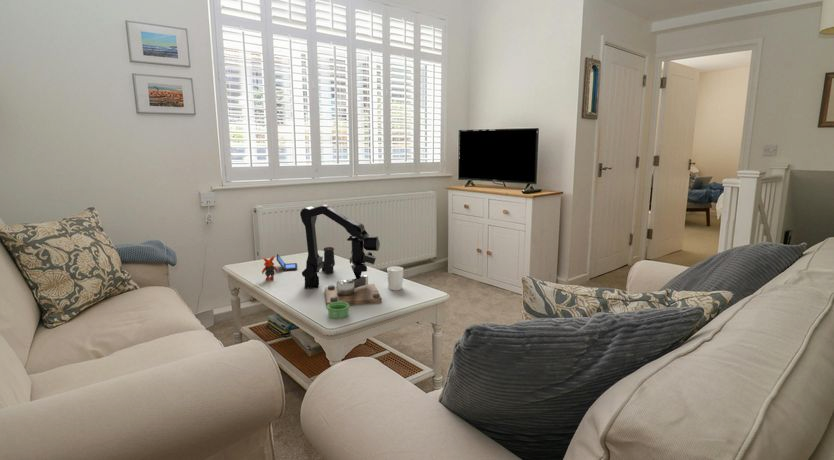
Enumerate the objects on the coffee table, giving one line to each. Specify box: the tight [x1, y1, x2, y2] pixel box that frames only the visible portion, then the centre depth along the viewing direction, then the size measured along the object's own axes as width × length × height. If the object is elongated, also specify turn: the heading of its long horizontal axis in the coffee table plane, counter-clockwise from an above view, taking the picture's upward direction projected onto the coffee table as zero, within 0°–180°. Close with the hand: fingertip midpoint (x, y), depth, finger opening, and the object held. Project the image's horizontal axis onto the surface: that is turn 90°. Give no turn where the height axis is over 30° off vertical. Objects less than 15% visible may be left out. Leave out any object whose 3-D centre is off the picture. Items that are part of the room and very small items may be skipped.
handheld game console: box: [276, 253, 298, 272], centre depth 254 cm, size 12×11×7 cm
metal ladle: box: [336, 274, 369, 296], centre depth 211 cm, size 17×8×6 cm, turn 139°
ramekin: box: [326, 302, 350, 320], centre depth 188 cm, size 9×9×4 cm
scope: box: [321, 246, 336, 275], centre depth 246 cm, size 8×14×10 cm
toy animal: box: [261, 256, 278, 282], centre depth 234 cm, size 8×6×12 cm
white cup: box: [386, 265, 404, 291], centre depth 221 cm, size 8×8×10 cm
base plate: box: [324, 283, 383, 306], centre depth 209 cm, size 24×21×3 cm
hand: (358, 280), depth 218 cm, fingers closed
